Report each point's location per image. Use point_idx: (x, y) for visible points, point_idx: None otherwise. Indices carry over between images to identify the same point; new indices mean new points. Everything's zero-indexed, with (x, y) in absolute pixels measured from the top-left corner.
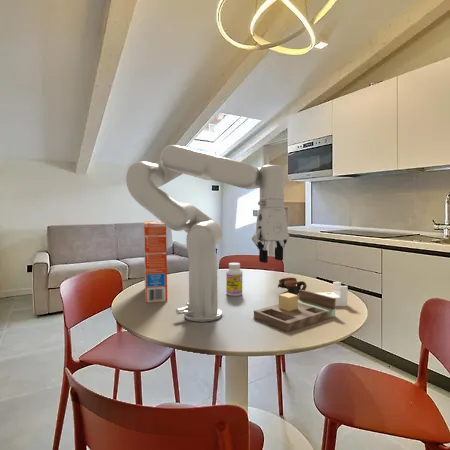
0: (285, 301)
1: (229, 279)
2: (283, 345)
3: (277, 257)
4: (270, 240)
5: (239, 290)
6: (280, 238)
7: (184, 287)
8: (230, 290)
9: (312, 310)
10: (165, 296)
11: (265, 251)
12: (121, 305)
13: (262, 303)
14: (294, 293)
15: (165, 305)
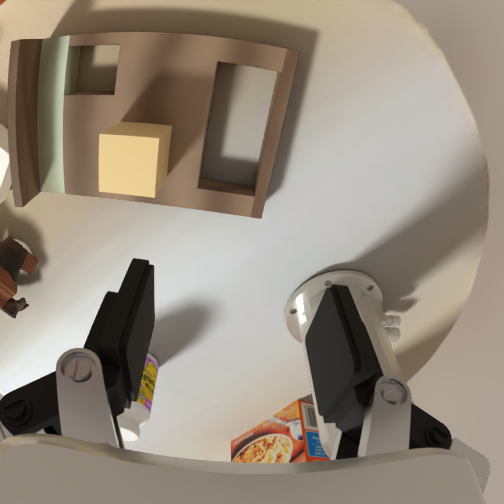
0: (162, 151)
1: (150, 398)
2: (389, 22)
3: (149, 313)
4: (420, 455)
5: None
6: (188, 488)
7: (200, 428)
8: (154, 370)
9: (78, 93)
10: (301, 410)
11: (371, 366)
12: None
13: (126, 272)
14: (10, 248)
15: None
